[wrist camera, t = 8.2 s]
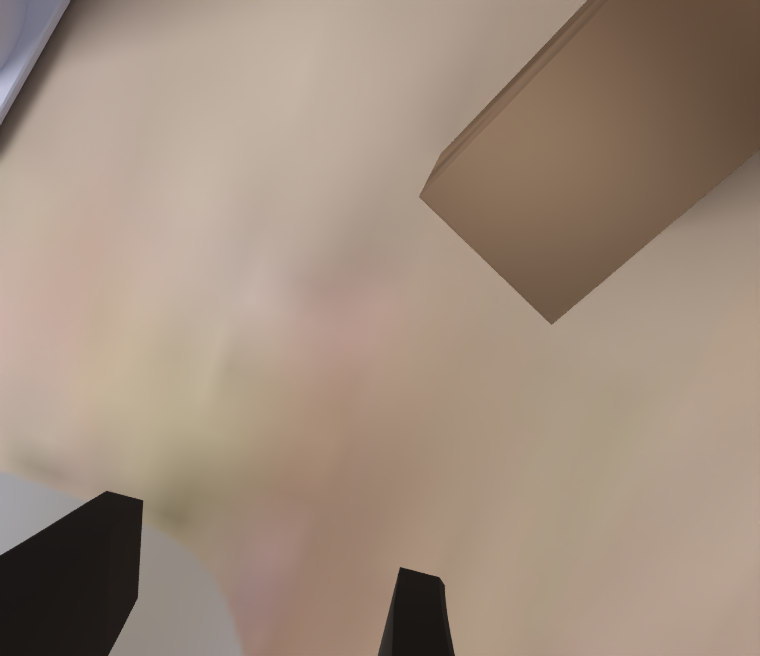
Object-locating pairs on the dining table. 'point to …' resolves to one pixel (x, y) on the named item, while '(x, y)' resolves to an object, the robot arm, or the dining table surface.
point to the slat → (603, 142)
